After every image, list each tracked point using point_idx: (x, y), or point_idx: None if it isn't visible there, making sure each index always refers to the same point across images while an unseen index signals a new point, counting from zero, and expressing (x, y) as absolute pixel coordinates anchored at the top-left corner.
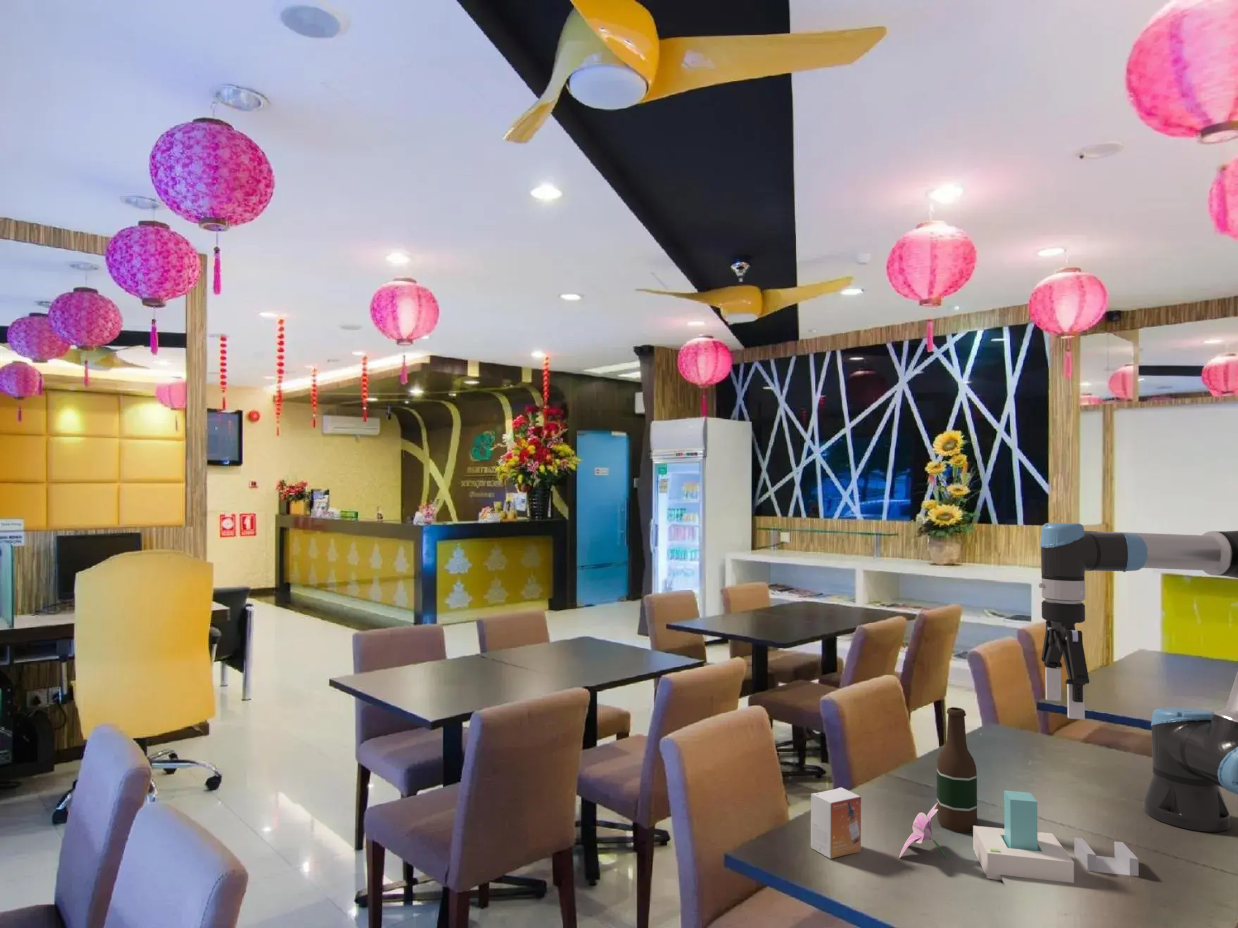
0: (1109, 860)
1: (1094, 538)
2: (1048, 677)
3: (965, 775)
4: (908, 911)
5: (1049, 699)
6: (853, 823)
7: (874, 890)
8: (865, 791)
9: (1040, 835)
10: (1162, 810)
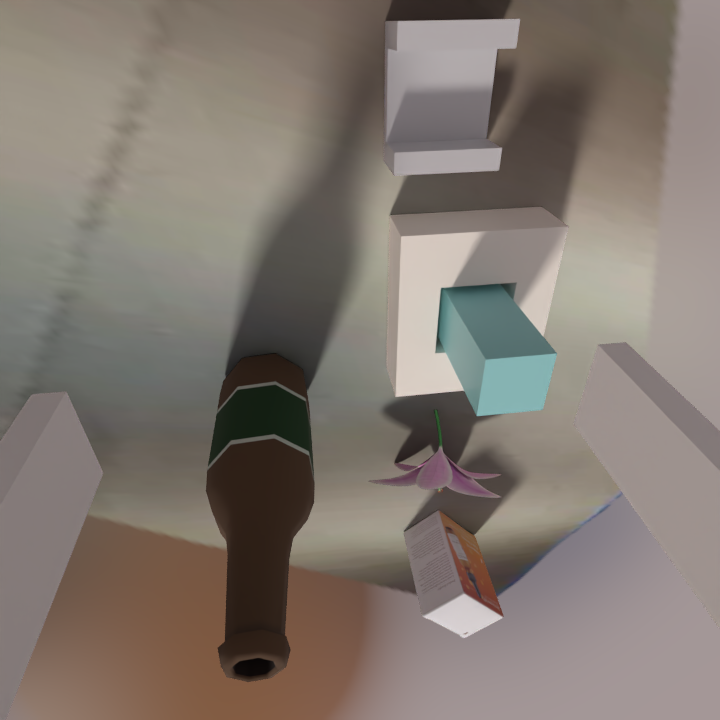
0: (410, 73)
1: None
2: (19, 652)
3: (309, 466)
4: None
5: (94, 463)
6: (462, 558)
7: (561, 488)
8: (147, 523)
9: (420, 268)
10: None
